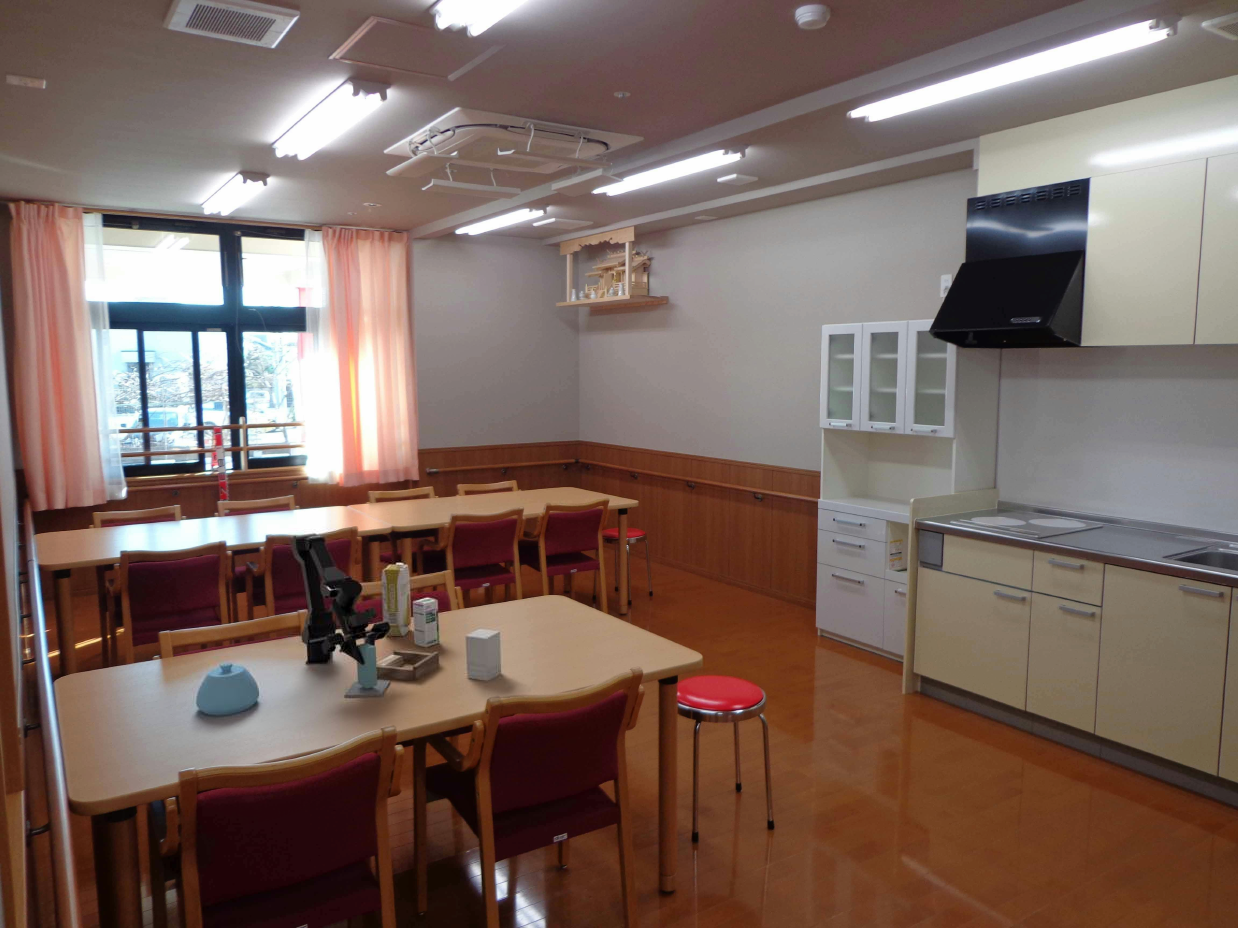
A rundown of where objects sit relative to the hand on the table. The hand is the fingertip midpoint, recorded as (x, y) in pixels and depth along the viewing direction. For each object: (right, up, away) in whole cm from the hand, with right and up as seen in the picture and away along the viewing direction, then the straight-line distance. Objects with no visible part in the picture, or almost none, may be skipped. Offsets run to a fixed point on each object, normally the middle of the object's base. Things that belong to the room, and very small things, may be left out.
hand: (369, 662), depth 226 cm
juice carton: (-6, -3, +52) cm, 53 cm away
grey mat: (-1, -8, +2) cm, 8 cm away
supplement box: (+30, -7, +12) cm, 33 cm away
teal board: (-1, -6, +2) cm, 7 cm away
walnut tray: (+5, -6, +17) cm, 19 cm away
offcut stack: (0, -6, +19) cm, 20 cm away
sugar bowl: (-34, -10, -9) cm, 37 cm away
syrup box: (+6, -4, +41) cm, 42 cm away
